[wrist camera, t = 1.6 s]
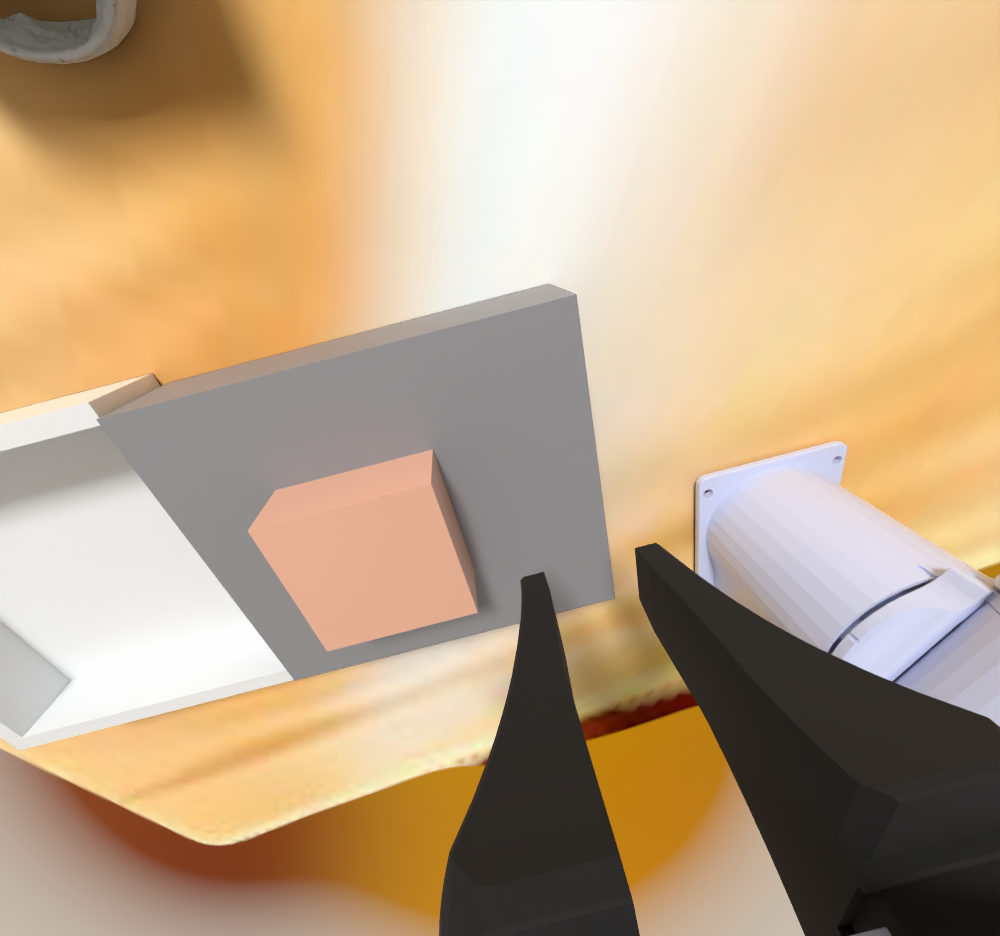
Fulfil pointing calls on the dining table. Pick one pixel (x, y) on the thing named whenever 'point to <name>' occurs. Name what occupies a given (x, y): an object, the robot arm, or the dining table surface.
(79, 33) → the ceramic mug
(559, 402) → the board
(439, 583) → the terracotta tile
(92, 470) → the bin
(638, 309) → the dining table surface
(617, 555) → the dining table surface
